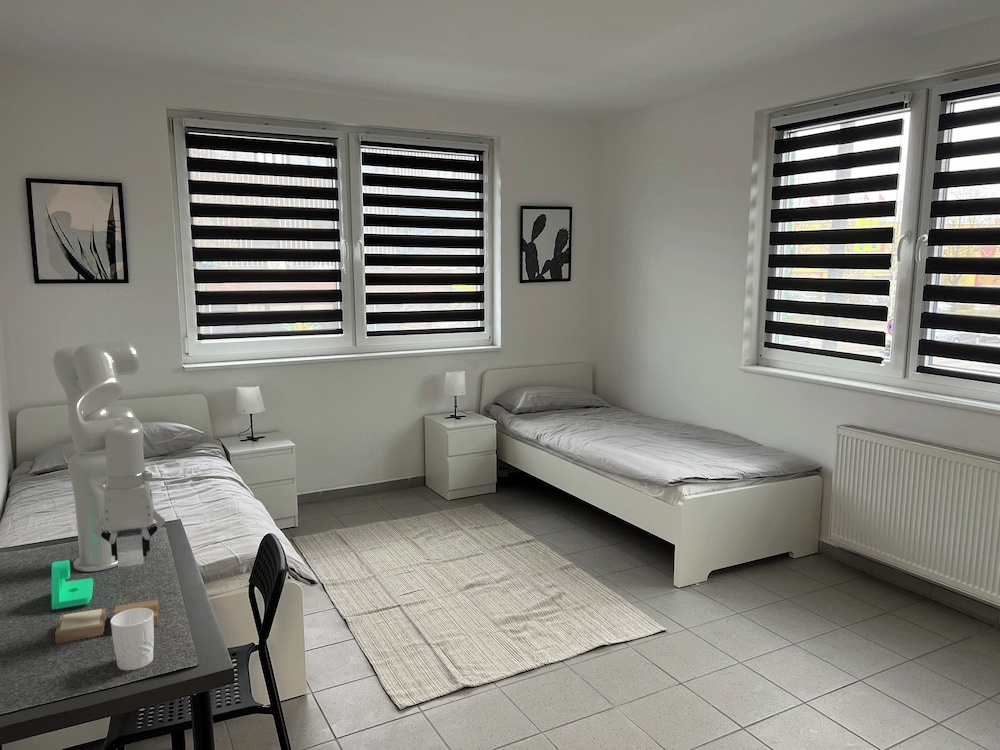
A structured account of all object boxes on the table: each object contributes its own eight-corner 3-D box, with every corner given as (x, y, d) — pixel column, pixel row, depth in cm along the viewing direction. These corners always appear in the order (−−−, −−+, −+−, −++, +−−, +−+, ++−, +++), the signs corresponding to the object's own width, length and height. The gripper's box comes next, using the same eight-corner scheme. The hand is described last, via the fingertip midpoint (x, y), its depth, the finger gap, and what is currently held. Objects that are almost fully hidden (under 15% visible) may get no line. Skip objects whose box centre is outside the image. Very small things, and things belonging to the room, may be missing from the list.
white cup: (128, 676, 145) (124, 630, 143) (106, 665, 149) (102, 619, 147) (164, 658, 151) (161, 613, 150) (142, 648, 155) (138, 604, 154)
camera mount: (89, 607, 173) (86, 567, 172) (52, 613, 170) (48, 572, 169) (94, 587, 184) (90, 549, 183) (59, 592, 181) (55, 553, 179)
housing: (120, 554, 167) (118, 526, 166) (144, 551, 169) (142, 523, 168) (118, 567, 161) (116, 537, 160) (143, 564, 163) (141, 534, 162)
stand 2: (116, 615, 169) (115, 605, 169) (158, 608, 173) (157, 598, 172) (113, 633, 161) (112, 623, 161) (158, 626, 165) (157, 615, 164)
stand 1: (61, 625, 165) (60, 614, 164) (106, 617, 168) (105, 606, 168) (55, 644, 156) (54, 632, 156) (103, 635, 160) (102, 624, 160)
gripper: (168, 471, 169) (172, 544, 172) (84, 478, 162) (90, 555, 165) (168, 481, 162) (172, 557, 165) (80, 489, 155) (86, 568, 158)
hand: (131, 555), depth 165 cm, fingers closed on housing, 5 cm apart
